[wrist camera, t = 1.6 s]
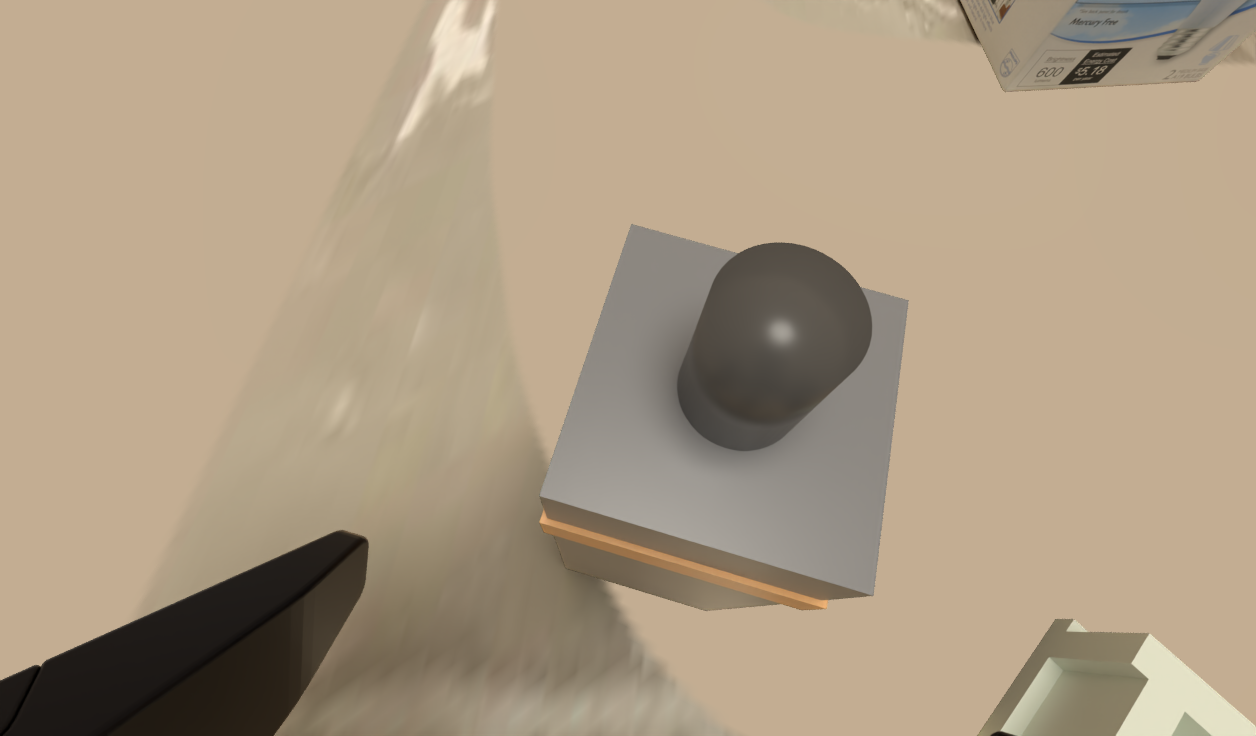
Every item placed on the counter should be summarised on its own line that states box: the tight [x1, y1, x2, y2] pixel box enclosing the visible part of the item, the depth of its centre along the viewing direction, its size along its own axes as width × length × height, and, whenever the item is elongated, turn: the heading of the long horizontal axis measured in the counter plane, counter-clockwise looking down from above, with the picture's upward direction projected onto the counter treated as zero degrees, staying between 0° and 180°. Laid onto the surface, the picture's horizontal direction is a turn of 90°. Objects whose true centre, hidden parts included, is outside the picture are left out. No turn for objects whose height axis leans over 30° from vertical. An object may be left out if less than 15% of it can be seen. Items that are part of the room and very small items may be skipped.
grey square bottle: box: [539, 224, 908, 611], centre depth 13 cm, size 5×5×14 cm
